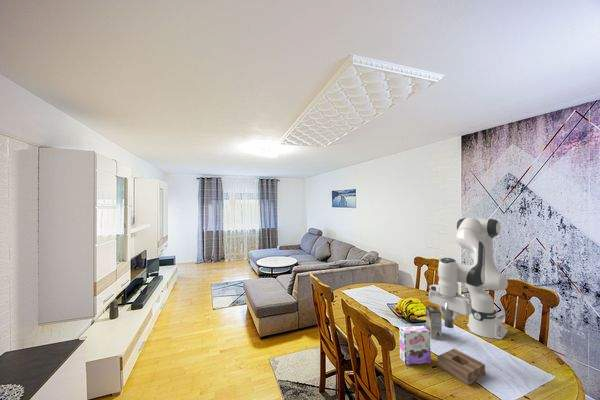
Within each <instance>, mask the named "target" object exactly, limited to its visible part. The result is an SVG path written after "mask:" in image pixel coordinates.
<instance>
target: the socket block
mask: <svg viewBox="0 0 600 400" xmlns="http://www.w3.org/2000/svg"><path fill="white" fill-rule="evenodd" d="M436 358H437V359H436V360H437V361H436V362H437V363H436V364H437V367H438V368H439V369H441V370H442V371H443V372H445V373H447V374H449V376H452V377H453V378H455V379H457V380H458V381H460V382H461V383H462V384H464V385H466V386H469V385H472V384H473V383H475V382H477V381H478V380H480V379H482V378H483V377H485V376H486V364H485V363H483V362H481V361H479V360H477V359H475V358H474V357H471V356H470V355H468V354H466V353H464V352H462V351H460V350H458V349H456V348H452V349H450V350H448V351H445V352H443V353H441V354H439V355H437V356H436Z"/></svg>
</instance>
